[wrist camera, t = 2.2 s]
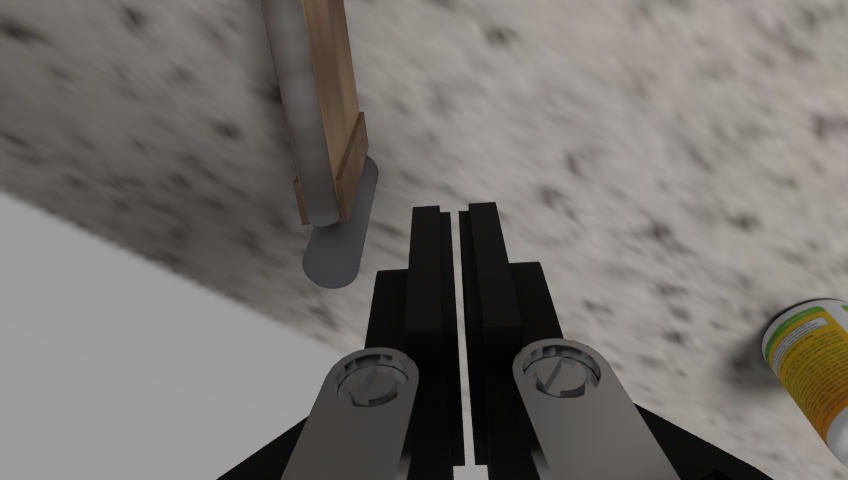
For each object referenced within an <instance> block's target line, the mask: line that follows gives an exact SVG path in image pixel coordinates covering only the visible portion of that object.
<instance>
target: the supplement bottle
mask: <svg viewBox="0 0 848 480" xmlns="http://www.w3.org/2000/svg"><path fill="white" fill-rule="evenodd" d="M762 353H763V356H764V359H765V361H766V362H767V364H768V365H769V367H770V368H771V370H772V371H773V372H774V374H775V375H776V376H777V378H778V379H779V381H780V382H781V383H782V385H783V386H784V387H785V389H786V390H787V391H788V393H789V394H790V396H791V397H792V398H793V400H794V401H795V402H796V404H797V405H798V406H799V408H800V409H801V411H802V412H803V413H804V415H805V416H806V417H807V419H808V420H809V422H810V423H811V424H812V426H813V427H814V428H815V430H816V431H817V433H818V434H819V435H820V437H821V438H822V440H823V441H824V442H825V444H826V445H827V447H828V448H829V449H830V451H831V452H832V453H833V454H834V456H835V457H836V458H837V459H838V460H839V461H840V462H841V463H842V464H843V465H845V466H846V467H848V303H846V302H843V301H839V300H830V299H828V300H817V301H812V302H808V303H804V304H802V305H799V306H797V307H795V308H792V309H791V310H789V311H787V312H785V313H784V314H782V315H781V316H780V317H778V318H777V319H776V320H775V321H774V322H773V323H772V324H771V325H770V327H769V328H768V330H767V331H766V333H765V335H764V338H763V341H762Z"/></svg>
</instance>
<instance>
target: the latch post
mask: <svg viewBox="0 0 848 480" xmlns="http://www.w3.org/2000/svg"><path fill="white" fill-rule="evenodd" d="M377 178H378V169H377V166H376V164H375V162H374V161H373V160H372V159H371V158H370V157H368V156H367V155H366V157H365V161H364V165H363V169H362V172H361V176H360V180H359V183H358V187H357V191H356V195H355V198H354V202H353V206H352V209H351V213H350V217H349V221H348V222H340V223H333V224H331V225H327V226H315V227H314V229H313V232H312V235H311V237H310V240H309V243H308V246H307V248H306V251H305V254H304V256H303V261H302V265H303V269H304V272H305V274H306V275H307V277H308V278H309V279H310V280H311V281H312V282H314V283H315V284H317V285H319V286H322V287H325V288H331V289H335V288H341V287H344V286H347V285H349V284H350V283H351V282H353V281H354V279H355V278H356V276H357V274H358V271H359V266H360V261H361V256H362V251H363V246H364V241H365V237H366V232H367V227H368V222H369V217H370V212H371V207H372V202H373V198H374V193H375V188H376V183H377Z"/></svg>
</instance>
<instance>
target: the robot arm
mask: <svg viewBox="0 0 848 480" xmlns="http://www.w3.org/2000/svg"><path fill="white" fill-rule="evenodd" d="M459 228H460V247H461V265H462V284H463V303H464V321H465V336H466V349H467V363H468V376H469V389H470V403H471V416H472V427H473V443H474V455H475V465H487V468H488V478H489V480H773V479H772V478H770V477H769V476H767V475H766V474H764V473H763V472H761V471H760V470H758V469H757V468H755V467H753V466H751V465H750V464H748V463H746V462H744V461H742V460H740V459H738V458H736V457H735V456H733V455H731V454H729V453H727V452H725V451H723V450H721V449H719V448H718V447H716V446H714V445H712V444H710V443H708V442H706V441H704V440H703V439H701V438H699V437H697V436H695V435H693V434H691V433H689V432H688V431H686V430H684V429H682V428H680V427H678V426H676V425H674V424H672V423H671V422H669V421H667V420H665V419H663V418H661V417H659V416H657V415H656V414H654V413H652V412H650V411H648V410H646V409H644V408H642V407H641V406H639V405H637V404H635V403H633V402H632V400H631V399H630V397H629V396H628V394H627V392H626V391H625V389H624V388H623V386H622V384H621V383H620V381H619V380H618V378H617V376H616V375H615V373H614V371H613V370H612V368H611V367H610V365H609V363H608V362H607V361H606V360H605V359H604V357H603V356H602V355H601V354H600V353H599V352H597V351H596V350H594V349H593V348H591V347H589V346H588V345H585V344H582V343H580V342H577V341H574V340H567V339H564V338H563V335H562V331H561V328H560V325H559V322H558V318H557V315H556V312H555V309H554V305H553V302H552V299H551V296H550V293H549V289H548V286H547V283H546V280H545V276H544V273H543V270H542V267H541V264H540V262H521V263H509V262H508V257H507V252H506V248H505V243H504V239H503V234H502V229H501V225H500V220H499V216H498V211H497V206H496V203H495V202H488V203H472V204H469V211H459ZM453 466H465V454H464V438H463V419H462V401H461V384H460V366H459V348H458V331H457V314H456V298H455V282H454V266H453V249H452V233H451V217H450V212H440V207H439V206H425V207H413V212H412V226H411V239H410V253H409V266H408V269H400V270H383V271H378V272H377V275H376V280H375V287H374V293H373V299H372V305H371V311H370V317H369V323H368V330H367V336H366V342H365V348H364V349H363V350H359V351H356V352H353V353H351V354H349V355H347V356H345V357H343V358H342V359H341V360H340V361H339V362H337V363H336V364H335V365H334V366H333V367H332V368H331V370H330V371H329V373H328V375H327V376H326V378H325V380H324V382H323V385H322V387H321V389H320V392H319V394H318V396H317V398H316V401H315V403H314V405H313V407H312V410H311V412H310V414H309V416H308V417H306V418H305V419H303V420H302V421H301V422H299V423H298V424H296V425H295V426H293V427H292V428H290V429H289V430H287V431H286V432H285V433H283V434H282V435H280V436H279V437H277V438H276V439H274V440H273V441H272V442H270V443H269V444H267V445H266V446H264V447H263V448H261V449H260V450H258V451H257V452H256V453H254V454H253V455H251V456H250V457H249V458H247V459H245V460H244V461H243V462H241V463H240V464H238V465H237V466H235V467H234V468H232V469H231V470H229V471H228V472H227V473H225V474H224V475H222V476H221V477H219V478H218V479H217V480H454V479H453V478H454V476H453Z"/></svg>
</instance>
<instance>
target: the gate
mask: <svg viewBox="0 0 848 480" xmlns="http://www.w3.org/2000/svg"><path fill="white" fill-rule="evenodd" d="M260 1H261V5H262V10H263V15H264V19H265V24H266V29H267V33H268V38H269V43H270V48H271V52H272V57H273V62H274V66H275V71H276V76H277V80H278V85H279V90H280V94H281V99H282V104H283V108H284V113H285V118H286V122H287V127H288V132H289V137H290V141H291V146H292V151H293V155H294V160H295V165H296V169H297V174H298V175H297V177H296V179H295V181H294V188H295V192H296V197H297V202H298V206H299V211H300V215H301V220H302V224H303V225H308V224H311V225H313V226H327V225H331V224H333V223H340V222H348V221H349V217H350V213H351V209H352V206H353V202H354V198H355V195H356V191H357V187H358V183H359V180H360V176H361V172H362V169H363V165H364V161H365V157H366V154H367V150H368V139H367V132H366V125H365V118H364V112H359V107H358V100H357V93H356V86H355V79H354V72H353V65H352V58H351V51H350V44H349V37H348V30H347V23H346V16H345V9H344V2H343V0H260Z"/></svg>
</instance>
